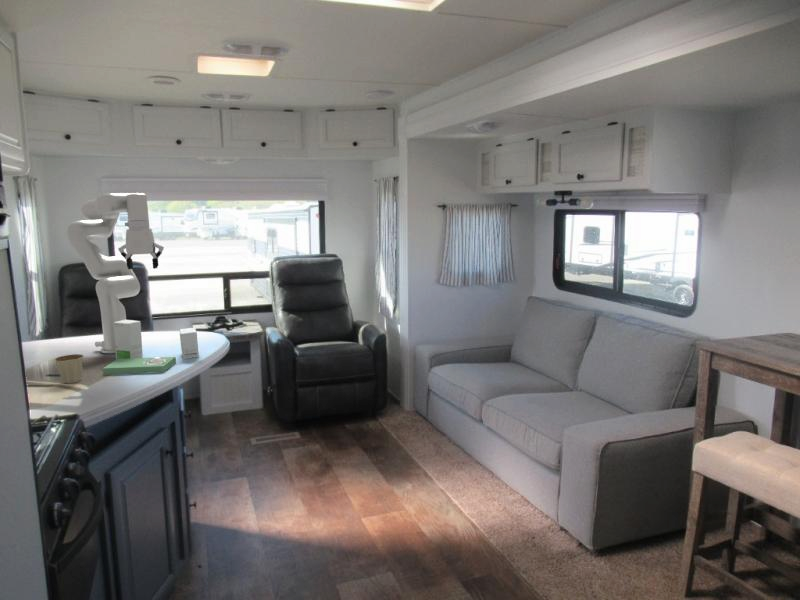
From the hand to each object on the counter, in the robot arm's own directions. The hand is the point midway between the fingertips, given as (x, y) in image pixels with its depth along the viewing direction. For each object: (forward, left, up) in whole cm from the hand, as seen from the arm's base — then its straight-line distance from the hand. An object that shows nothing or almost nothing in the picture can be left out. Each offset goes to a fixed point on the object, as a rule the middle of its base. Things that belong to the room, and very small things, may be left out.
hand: (143, 268), depth 244 cm
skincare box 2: (+15, +2, -37) cm, 40 cm away
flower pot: (-17, -31, -36) cm, 51 cm away
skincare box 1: (-8, -1, -36) cm, 37 cm away
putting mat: (+2, -17, -36) cm, 40 cm away
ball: (+8, -16, -34) cm, 39 cm away
